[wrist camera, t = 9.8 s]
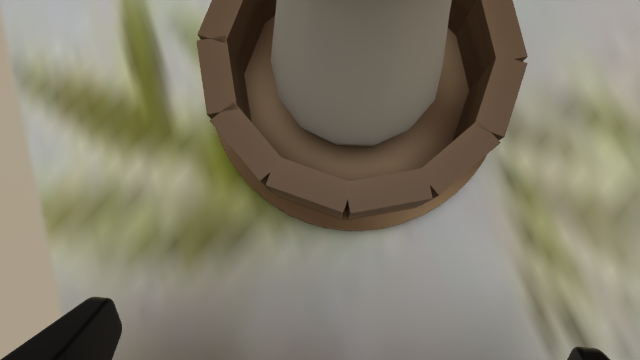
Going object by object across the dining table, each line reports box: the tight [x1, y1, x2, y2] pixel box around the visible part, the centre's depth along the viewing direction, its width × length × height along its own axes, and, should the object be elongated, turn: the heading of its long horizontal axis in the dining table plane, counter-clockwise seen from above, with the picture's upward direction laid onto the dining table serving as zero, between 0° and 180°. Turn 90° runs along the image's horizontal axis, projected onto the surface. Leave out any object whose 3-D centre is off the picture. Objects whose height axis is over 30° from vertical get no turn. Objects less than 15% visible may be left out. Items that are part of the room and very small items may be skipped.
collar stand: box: [197, 0, 527, 231], centre depth 17 cm, size 12×12×4 cm
